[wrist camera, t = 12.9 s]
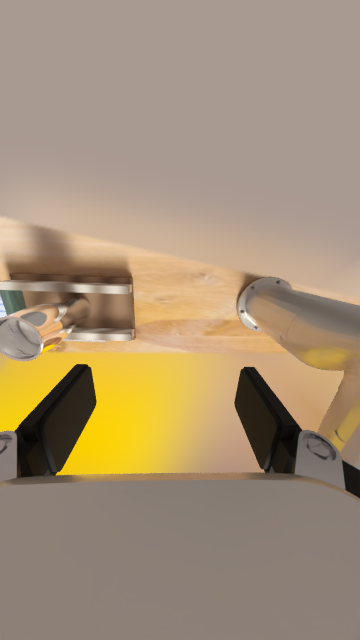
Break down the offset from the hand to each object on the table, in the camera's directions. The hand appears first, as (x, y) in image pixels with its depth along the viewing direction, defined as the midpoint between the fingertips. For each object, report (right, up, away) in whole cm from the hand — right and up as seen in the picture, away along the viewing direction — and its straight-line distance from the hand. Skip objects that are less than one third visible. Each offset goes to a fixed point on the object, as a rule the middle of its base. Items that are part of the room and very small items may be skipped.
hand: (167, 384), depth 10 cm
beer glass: (-21, +7, +26) cm, 34 cm away
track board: (-22, +7, +27) cm, 35 cm away
